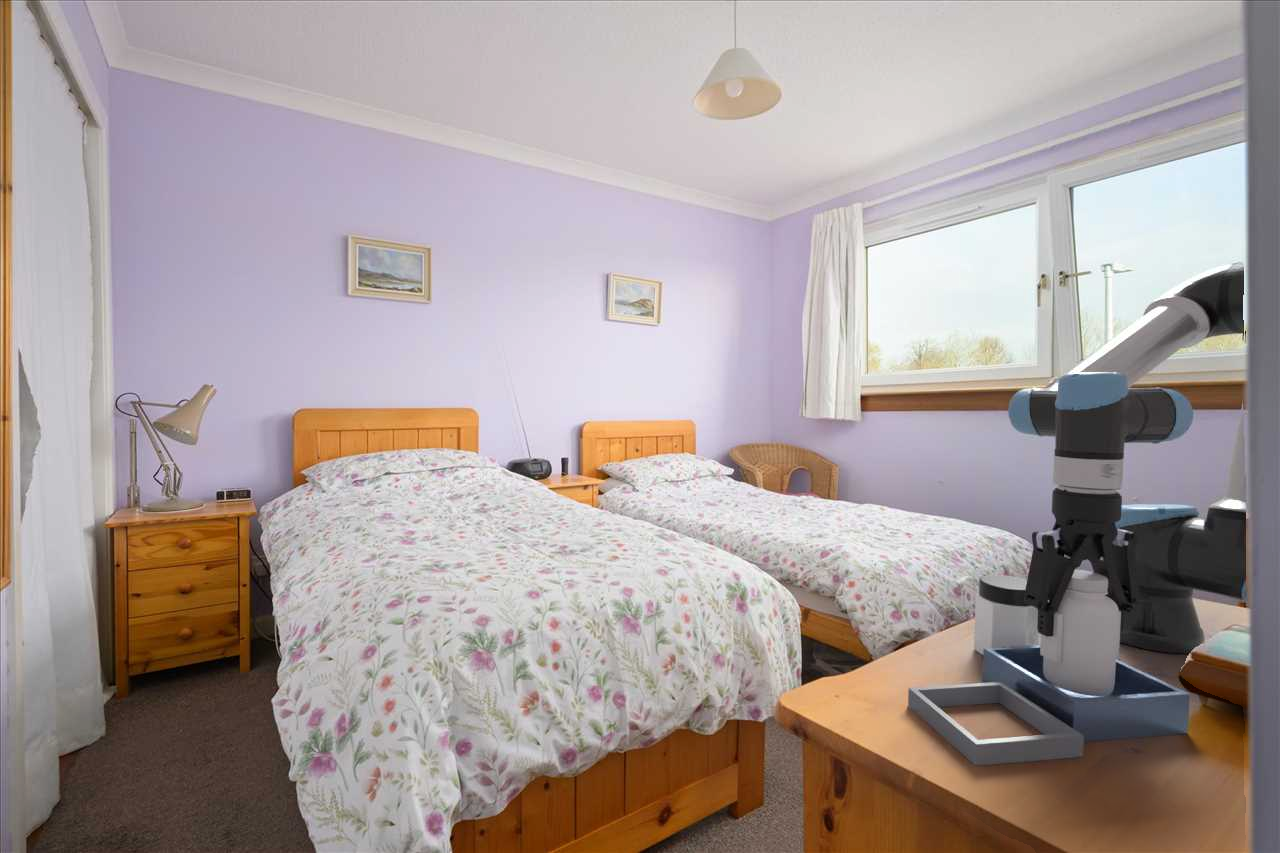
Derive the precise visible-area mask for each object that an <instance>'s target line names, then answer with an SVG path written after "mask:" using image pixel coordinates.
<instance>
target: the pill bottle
mask: <svg viewBox="0 0 1280 853" xmlns="http://www.w3.org/2000/svg"><path fill="white" fill-rule="evenodd" d="M1107 589H1108V579H1107V578H1106V577H1105V576H1103V575H1101V574H1098V573H1094V571H1088V570H1083V569H1075V571H1074V573H1073V575H1072V578H1071V580H1070V582H1069V585H1068V587H1067V589H1066V592H1065V594H1064V596H1063V599H1062V601H1061V603H1060V606H1059V608H1058V610H1057V612H1059V613H1061V614H1063V629H1062V652H1061V663H1055V662H1053V661H1051V660H1049V659H1047V658H1045V657H1044V658H1043V674H1044V676H1045V678H1046V679H1047V680H1048V681H1049V682H1051V683H1052V684H1054V685H1056V686H1058V687H1060V688H1062V689H1065V690H1068V691H1071V692H1074V693H1078V694H1083V695H1090V696H1105V695H1109V694H1111V693H1112V692H1113V689H1114V685H1115V670H1116V654H1117V639H1118V623H1119V609H1118V606H1117V604H1116V603H1115V602H1114V601H1113V600H1112V599H1111V598H1109V597H1107V596H1105V595H1106V594H1108V591H1107ZM1048 602H1049V600H1048Z"/></svg>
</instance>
